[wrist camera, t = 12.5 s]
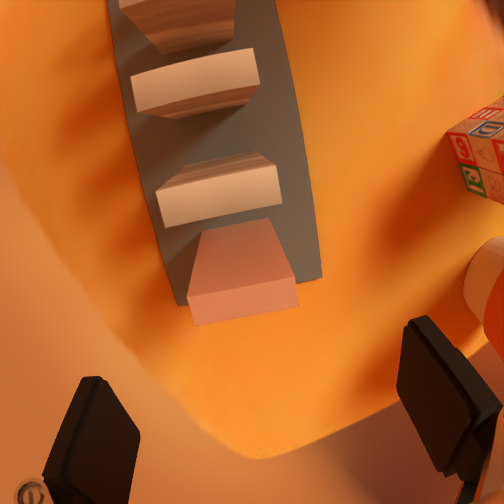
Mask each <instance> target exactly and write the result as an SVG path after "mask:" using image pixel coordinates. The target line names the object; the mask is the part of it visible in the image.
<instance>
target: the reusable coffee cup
mask: <svg viewBox="0 0 504 504" xmlns="http://www.w3.org/2000/svg"><path fill="white" fill-rule="evenodd" d="M463 296H464V300H465V302H466V304H467V306H468V307H469V308H470V310H471V311H472V312H473V313H474V315H475V316H476V317H477V318H478V320H479V321H480V322H481V324H482V325H483V327H484V332H485V335H486V337H487V338H488V340H489V341H490V342H491V344H492V345H493V347H494V348H495V349H496V351H497V352H498V354H499V355H500V357H501V358H502V360H503V361H504V237H503V236H500V237H495V238H492V239H491V240H489V241H487V242H486V243H485V244H484V245H483V246H482V247H481V248H480V249H479V250H478V252H477V253H476V254H475V256H474V258H473V259H472V261H471V263H470V265H469V267H468V270H467V273H466V275H465V280H464V286H463Z"/></svg>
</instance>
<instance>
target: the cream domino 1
mask: <svg viewBox="0 0 504 504" xmlns="http://www.w3.org/2000/svg"><path fill="white" fill-rule="evenodd" d="M235 5H236V0H119V7H120V10H121V11H122V12H123V13H124V14H125V15H126V16H127V17H128V18H129V19H130V20H131V21H132V22H133V23H134V24H135V25H136V26H137V27H138V28H139V30H140V31H141V32H142V33H143V34H144V35H145V36H146V37H147V38H148V39H149V40H150V41H151V42H152V44H153V45H154V46H155V47H156V48H157V49H158V50H159V51H160V52H161V53H162V55H166V54H170V53H173V52H177V51H181V50H185V49H190V48H194V47H198V46H203V45H208V44H213V43H218V42H223V41H229V40H233V36H234V20H235Z"/></svg>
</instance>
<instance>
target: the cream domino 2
mask: <svg viewBox="0 0 504 504" xmlns="http://www.w3.org/2000/svg"><path fill="white" fill-rule="evenodd" d="M131 83H132V88H133V93H134V98H135V104H136V109H137V112H138V113H144V114H149V115H155V116H160V117H166V118H171V119H180V118H184V117H188V116H192V115H197V114H201V113H205V112H210V111H215V110H219V109H224V108H229V107H234V106H240V105H245V104H247V103H248V101H249V100H250V98H251V97H252V96H253V94H254V93H255V91H256V90H257V88H258V87H259V85H260V80H259V75H258V70H257V65H256V61H255V56H254V51H253V48H249V49H242V50H236V51H231V52H225V53H220V54H215V55H210V56H205V57H201V58H196V59H192V60H188V61H183V62H179V63H176V64H172V65H168V66H164V67H161V68H157V69H154V70H150V71H147V72H143V73H140V74H137V75H134V76H131Z"/></svg>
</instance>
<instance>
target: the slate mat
mask: <svg viewBox="0 0 504 504" xmlns="http://www.w3.org/2000/svg"><path fill="white" fill-rule="evenodd" d="M108 9H109V17H110V25H111V33H112V40H113V46H114V53H115V59H116V65H117V71H118V77H119V83H120V88H121V93H122V99H123V104H124V109H125V114H126V119H127V123H128V128H129V133H130V137H131V142H132V146H133V150H134V155H135V159H136V163H137V167H138V171H139V175H140V179H141V183H142V187H143V191H144V195H145V199H146V203H147V206H148V210H149V214H150V217H151V221H152V224H153V228H154V231H155V235H156V238H157V242H158V245H159V248H160V252H161V255H162V258H163V262H164V265H165V268H166V271H167V274H168V278H169V281H170V284H171V287H172V290H173V293H174V296H175V299H176V302H177V305H178V306H183V305H189V303H188V300H187V293H188V289H189V284H190V280H191V276H192V271H193V267H194V263H195V258H196V254H197V250H198V246H199V242H200V237H201V233H202V231H205V230H210V229H215V228H219V227H224V226H229V225H234V224H239V223H244V222H249V221H254V220H259V219H264V218H269V219H270V222H271V224H272V226H273V228H274V231H275V233H276V235H277V237H278V239H279V242H280V244H281V246H282V248H283V251H284V253H285V255H286V257H287V260H288V262H289V264H290V267H291V269H292V271H293V273H294V276H295V281H296V283H300V282H305V281H309V280H314V279H318V278H322V269H321V260H320V251H319V242H318V234H317V226H316V219H315V211H314V204H313V197H312V190H311V183H310V176H309V170H308V163H307V157H306V151H305V145H304V139H303V133H302V128H301V122H300V117H299V111H298V106H297V101H296V95H295V90H294V85H293V80H292V75H291V71H290V66H289V61H288V56H287V52H286V47H285V43H284V38H283V34H282V30H281V26H280V21H279V17H278V13H277V9H276V5H275V1H274V0H236V5H235V20H234V36H233V40H229V41H223V42H218V43H213V44H208V45H203V46H198V47H194V48H190V49H185V50H181V51H177V52H173V53H170V54H166V55H162V53H161V52H160V51H159V50H158V49H157V48H156V47H155V46H154V45H153V44H152V42H151V41H150V40H149V39H148V38H147V37H146V36H145V35H144V34H143V33H142V32H141V31H140V30H139V28H138V27H137V26H136V25H135V24H134V23H133V22H132V21H131V20H130V19H129V18H128V17H127V16H126V15H125V14H124V13H123V12H122V11H121V10H120V7H119V0H108ZM249 48H253V51H254V56H255V61H256V65H257V70H258V75H259V80H260V85H259V87H258V88H257V90H256V91H255V93H254V94H253V96H252V97H251V98H250V100H249V101H248V103H247V104H245V105H240V106H234V107H229V108H224V109H219V110H215V111H210V112H205V113H201V114H197V115H192V116H188V117H184V118H180V119H171V118H166V117H160V116H155V115H149V114H144V113H138V112H137V109H136V104H135V98H134V93H133V88H132V83H131V76H134V75H137V74H140V73H143V72H147V71H150V70H154V69H157V68H161V67H164V66H168V65H172V64H176V63H179V62H183V61H188V60H192V59H196V58H201V57H205V56H210V55H215V54H220V53H225V52H231V51H236V50H242V49H249ZM251 151H257V152H258V153H260V154H261V155H262V156H264V157H265V158H266V159H268V160H269V161H270V162H272V163H273V164H274V165H276V169H277V174H278V180H279V186H280V192H281V197H282V204H277V205H271V206H266V207H261V208H256V209H251V210H246V211H241V212H236V213H232V214H227V215H222V216H217V217H213V218H208V219H203V220H199V221H194V222H189V223H185V224H180V225H176V226H172V227H167V228H165V225H164V222H163V218H162V214H161V211H160V207H159V203H158V199H157V195H156V191H157V190H158V189H159V188H160V187H161V186H162V185H164V184H165V183H166V182H167V181H168V180H169V179H171V178H172V177H173V176H174V175H175V174H176V173H178V172H179V171H180V170H181V169H182V168H184V167H185V166H186V165H190V164H194V163H199V162H203V161H208V160H212V159H217V158H222V157H226V156H231V155H236V154H241V153H246V152H251Z"/></svg>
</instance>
